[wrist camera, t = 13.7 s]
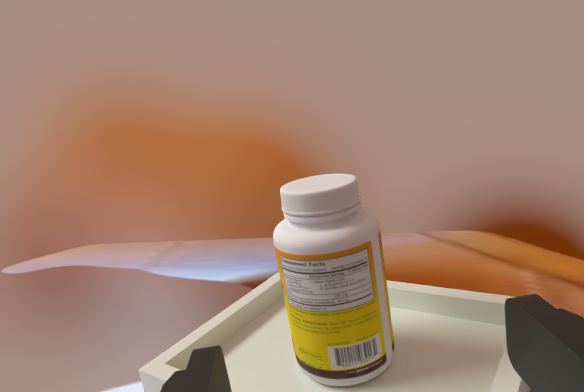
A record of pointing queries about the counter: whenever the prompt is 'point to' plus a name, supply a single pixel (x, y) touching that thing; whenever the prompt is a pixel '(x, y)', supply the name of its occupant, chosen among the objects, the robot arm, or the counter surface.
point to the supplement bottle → (334, 281)
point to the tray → (407, 339)
